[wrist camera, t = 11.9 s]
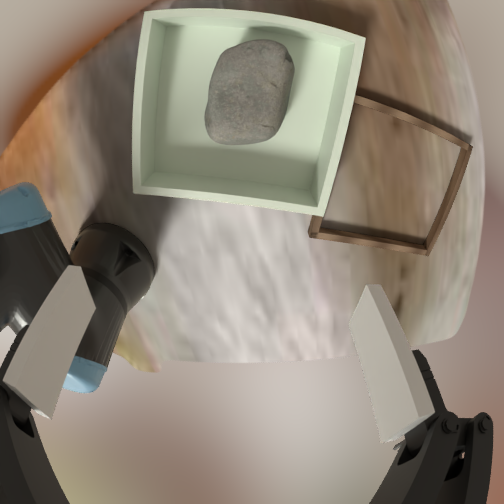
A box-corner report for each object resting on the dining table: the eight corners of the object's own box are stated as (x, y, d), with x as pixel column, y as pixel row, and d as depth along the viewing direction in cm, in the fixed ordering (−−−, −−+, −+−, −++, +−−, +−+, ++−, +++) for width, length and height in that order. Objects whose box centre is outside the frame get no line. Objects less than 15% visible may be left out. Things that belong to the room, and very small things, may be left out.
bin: (149, 176, 34) (133, 193, 29) (161, 21, 22) (144, 11, 17) (313, 196, 35) (323, 216, 31) (347, 44, 23) (365, 38, 19)
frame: (307, 231, 39) (309, 237, 37) (342, 91, 27) (346, 92, 26) (424, 250, 40) (428, 255, 39) (467, 143, 29) (472, 146, 28)
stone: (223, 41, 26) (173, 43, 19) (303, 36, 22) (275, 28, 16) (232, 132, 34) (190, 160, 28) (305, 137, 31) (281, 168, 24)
